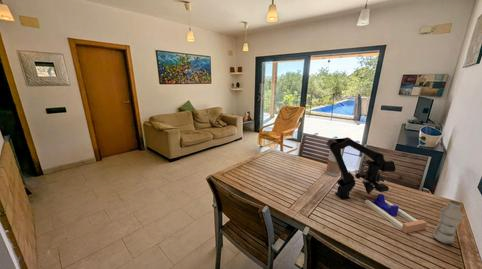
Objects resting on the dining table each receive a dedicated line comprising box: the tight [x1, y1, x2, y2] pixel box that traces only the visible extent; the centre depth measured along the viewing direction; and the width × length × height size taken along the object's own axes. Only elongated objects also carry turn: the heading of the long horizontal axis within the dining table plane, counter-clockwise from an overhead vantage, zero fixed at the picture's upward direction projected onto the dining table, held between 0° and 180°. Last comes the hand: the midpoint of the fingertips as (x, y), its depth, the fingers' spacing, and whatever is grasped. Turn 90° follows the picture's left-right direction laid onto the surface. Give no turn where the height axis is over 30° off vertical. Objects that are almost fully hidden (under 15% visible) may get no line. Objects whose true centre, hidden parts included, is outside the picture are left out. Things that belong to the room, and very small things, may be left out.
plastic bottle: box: [433, 200, 463, 245], centre depth 84 cm, size 6×7×20 cm
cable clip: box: [372, 193, 400, 217], centre depth 108 cm, size 12×4×6 cm, turn 0°
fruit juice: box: [326, 149, 343, 177], centre depth 146 cm, size 9×9×28 cm
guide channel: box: [364, 199, 428, 234], centre depth 103 cm, size 12×24×4 cm, turn 12°
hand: (368, 193), depth 118 cm, fingers closed
